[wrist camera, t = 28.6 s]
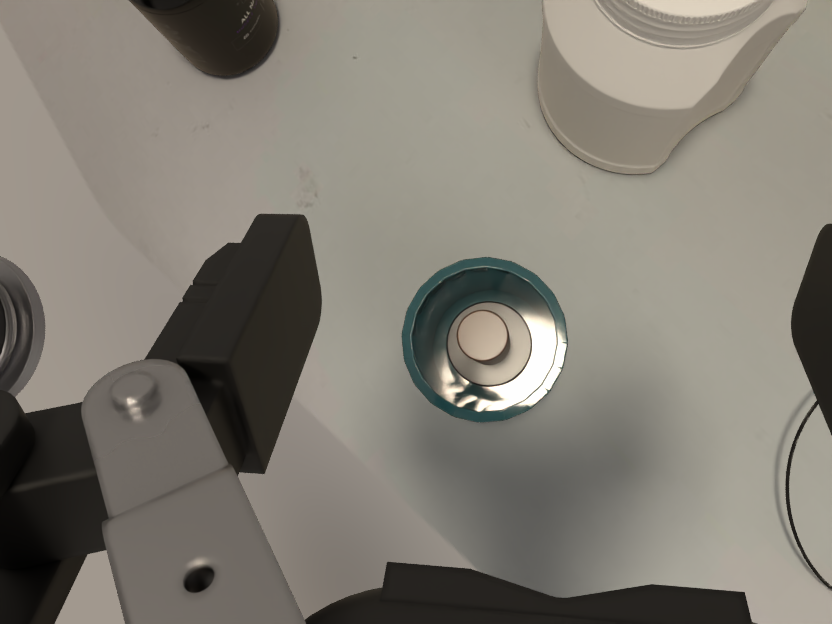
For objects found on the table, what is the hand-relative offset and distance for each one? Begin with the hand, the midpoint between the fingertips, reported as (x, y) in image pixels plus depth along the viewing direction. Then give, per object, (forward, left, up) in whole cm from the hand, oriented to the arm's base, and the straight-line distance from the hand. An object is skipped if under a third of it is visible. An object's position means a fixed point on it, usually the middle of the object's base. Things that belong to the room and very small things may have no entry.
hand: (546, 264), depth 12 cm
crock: (-2, +1, -30) cm, 30 cm away
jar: (+15, +7, -30) cm, 35 cm away
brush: (-1, +1, -29) cm, 29 cm away
